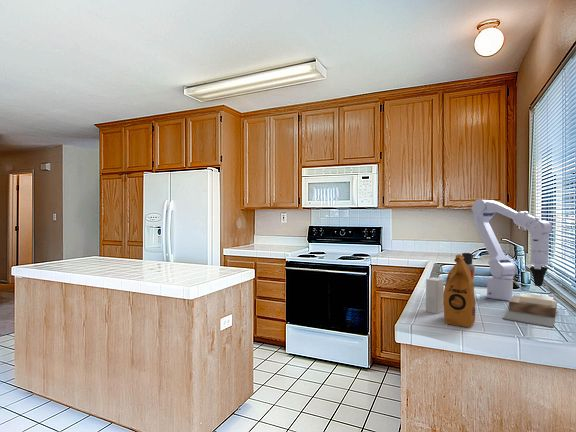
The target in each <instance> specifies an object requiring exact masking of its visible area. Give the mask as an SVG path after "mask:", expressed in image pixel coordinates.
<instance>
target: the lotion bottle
mask: <svg viewBox="0 0 576 432" xmlns="http://www.w3.org/2000/svg"><path fill="white" fill-rule="evenodd" d="M461 256H463V257H464V259H463V260H464V261H465V263H466V265H467V266H468V268H469V270H470V272H471V278H472V282H473V287H474V288H475V268H476V267H475V264H473V253H471V252H462V253H461Z"/></svg>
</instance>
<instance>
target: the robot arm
mask: <svg viewBox="0 0 576 432" xmlns="http://www.w3.org/2000/svg"><path fill="white" fill-rule="evenodd" d="M470 209H471V211H472V214H473V223H474V225H475V227H476V230H477V231H478V234H479V236H480V238H481V240H482V243H483V245H484V247H485V249H486V251H487V254H488V255H489V257H490V258H489V261H488V265H489V272H490V274H491V275H492V276H488V277H487V282H486V283H487V284H486V298H487V299H488V298H489V299H494V300H503V301H508V302H509V301H510V300H511V298H512V297H513V293H514V292H513V290H514V289H513V287H514V278H515V277H514V276H515V275H516V274H517V272H518V267H517V265H516V264H515V263H514V262H513V261H512V260H511V258H510V257H509V256H507V255H506V253H504V251H503V249H502V246H501V245H500V243H499V241H498V239H497V237H496V234H495V232H494V230H493V228H492V226H491V224H490V223H489V222H490V220H491V219H492V218H493V217H494V216H495V215H496V213H498V214H501V215H502V216H504V217H507V218H509V219H512V221H513V223H514V224H515V225H517V226H519V227H520V228H521V227H522V228H523V229H525V230H527V231H528V233H530V261H529V264H531V265H533V266H530V267H529V270H530V271H531V274H532V278H533V284H534V286H535V287H542V286H543V283H544V279H545V276H546V273H547V271H548V269H549V267H548V266H552V265H553V264H552V262H549V245H550V244H549V243H550V234H551V233H552V231H553V225H552V223H551V222H550V221H548V220H547V219H542V220H541V218H540V217H538V216H533V215H531V214H529V211H526V210H524V211H518V212H517V211H516V210H514V209H512V208H511V207H508V206H507V205H505V204H503V203H502V202H499V201H496V200H494V199H490V200H489V199H480V198H479V199H476V200H475V201H473V204H472V205H471V208H470Z"/></svg>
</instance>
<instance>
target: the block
mask: <svg viewBox="0 0 576 432" xmlns="http://www.w3.org/2000/svg"><path fill="white" fill-rule="evenodd" d="M518 296H519V302H526V303H533V304H540V305H547V306H552V305H553V301H554V297H553V296H546V295H537V294H530V293H522V292H521V293H520V295H518Z"/></svg>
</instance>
